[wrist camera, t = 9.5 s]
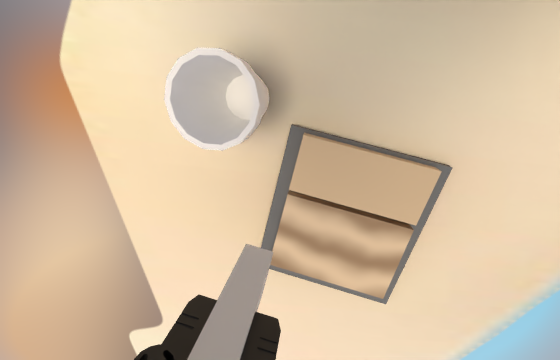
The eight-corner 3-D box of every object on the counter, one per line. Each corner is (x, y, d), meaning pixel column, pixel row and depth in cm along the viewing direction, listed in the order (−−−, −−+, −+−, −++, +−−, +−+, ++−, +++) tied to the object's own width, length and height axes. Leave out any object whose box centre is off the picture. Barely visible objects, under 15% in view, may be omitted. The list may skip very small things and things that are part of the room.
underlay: (292, 124, 38) (289, 127, 35) (449, 165, 36) (459, 172, 33) (258, 261, 46) (253, 272, 43) (384, 299, 44) (388, 313, 42)
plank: (289, 190, 40) (287, 194, 38) (409, 223, 39) (413, 230, 37) (271, 257, 44) (268, 264, 42) (380, 290, 42) (383, 298, 40)
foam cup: (282, 62, 35) (260, 49, 23) (279, 133, 38) (258, 153, 26) (214, 60, 37) (159, 46, 25) (216, 128, 40) (168, 146, 28)
